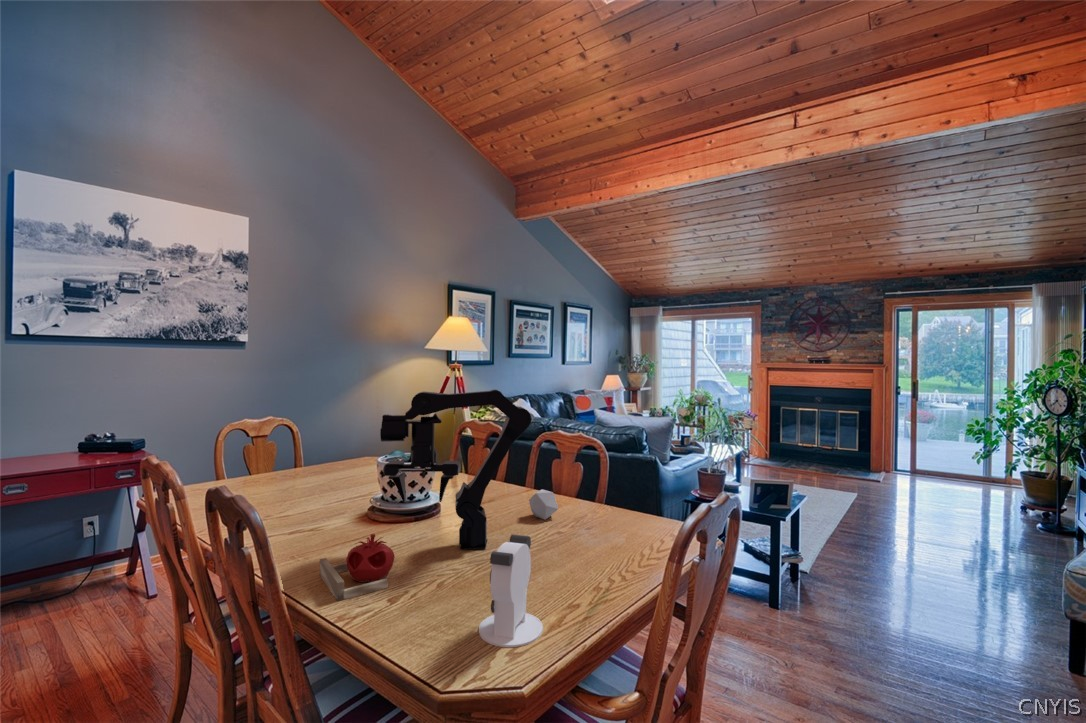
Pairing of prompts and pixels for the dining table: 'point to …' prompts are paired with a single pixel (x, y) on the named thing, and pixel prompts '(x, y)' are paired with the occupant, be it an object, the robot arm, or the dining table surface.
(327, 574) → the cradle
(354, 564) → the pomegranate
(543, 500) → the die
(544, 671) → the dining table surface
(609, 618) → the dining table surface
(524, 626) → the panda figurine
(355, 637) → the dining table surface
